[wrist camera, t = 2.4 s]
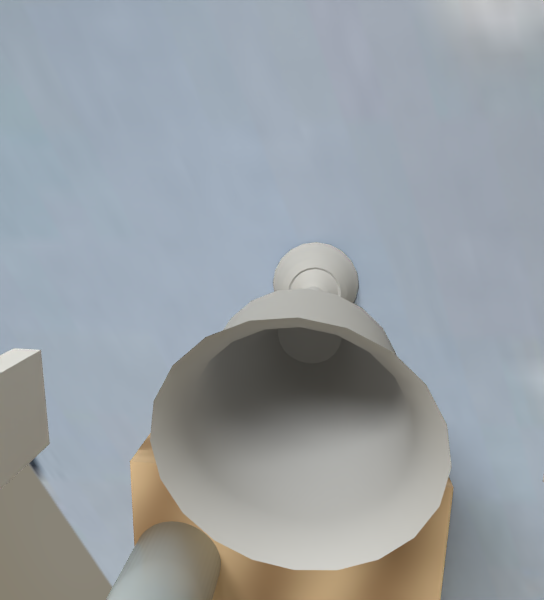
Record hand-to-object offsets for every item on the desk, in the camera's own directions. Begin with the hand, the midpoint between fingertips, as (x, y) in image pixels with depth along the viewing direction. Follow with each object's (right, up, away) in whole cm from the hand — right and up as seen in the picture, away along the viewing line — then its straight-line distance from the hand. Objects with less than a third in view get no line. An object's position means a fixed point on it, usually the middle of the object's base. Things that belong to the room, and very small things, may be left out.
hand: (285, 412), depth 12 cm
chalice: (+2, +4, +17) cm, 17 cm away
